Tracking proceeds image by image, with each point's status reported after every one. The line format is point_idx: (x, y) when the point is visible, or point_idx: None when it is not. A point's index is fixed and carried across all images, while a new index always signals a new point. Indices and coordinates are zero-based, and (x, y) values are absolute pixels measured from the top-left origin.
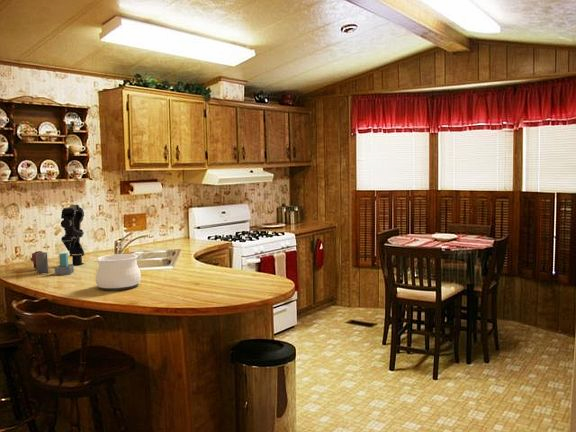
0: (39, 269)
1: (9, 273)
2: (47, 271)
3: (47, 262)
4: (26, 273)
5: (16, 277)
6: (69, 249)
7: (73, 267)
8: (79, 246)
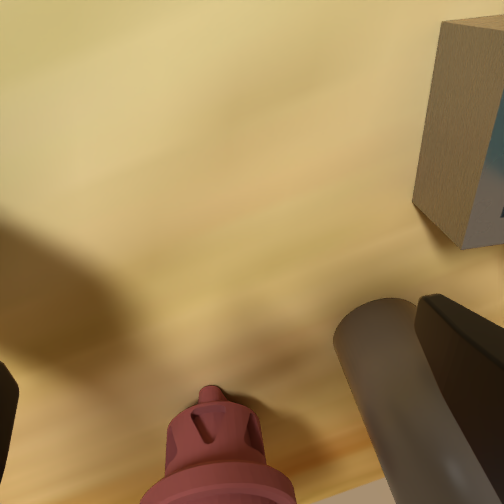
0: None
1: (320, 486)
2: (398, 308)
3: (430, 381)
4: (353, 418)
5: None
6: (476, 316)
7: (480, 27)
8: None
